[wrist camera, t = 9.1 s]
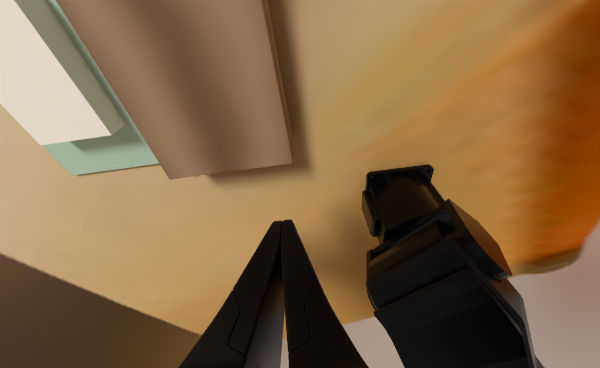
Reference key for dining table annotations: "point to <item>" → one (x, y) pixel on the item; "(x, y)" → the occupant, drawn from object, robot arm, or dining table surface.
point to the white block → (49, 78)
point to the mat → (108, 149)
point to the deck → (193, 79)
